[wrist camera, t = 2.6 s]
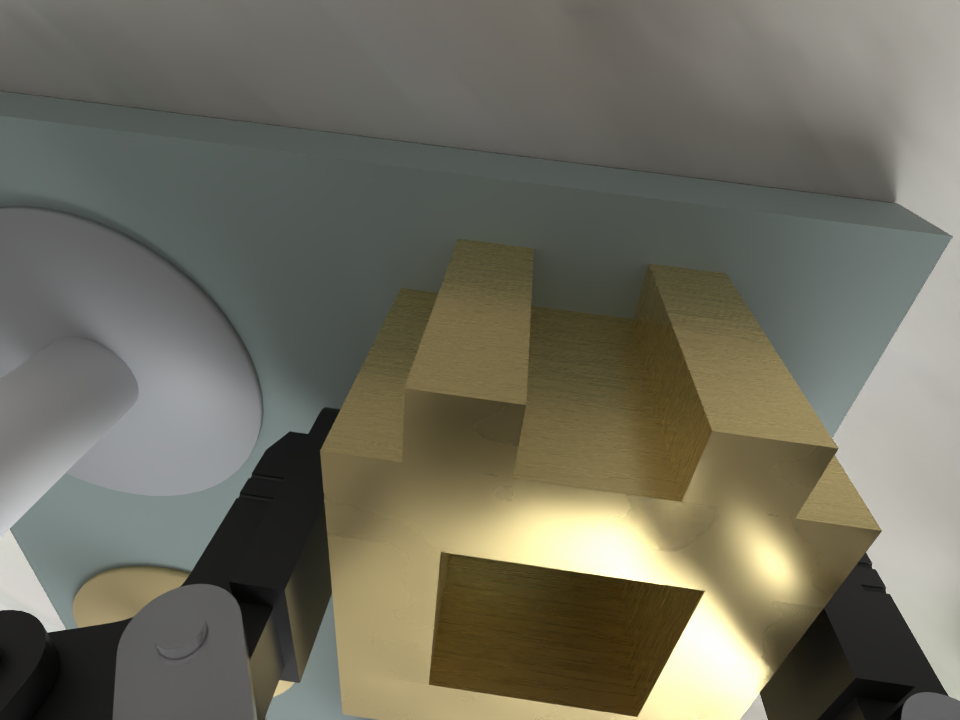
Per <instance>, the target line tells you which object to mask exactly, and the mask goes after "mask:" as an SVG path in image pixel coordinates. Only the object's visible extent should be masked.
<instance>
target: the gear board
mask: <svg viewBox="0 0 960 720" xmlns="http://www.w3.org/2000/svg"><path fill="white" fill-rule="evenodd" d="M951 238H952V236H951V235H949V234H948V233H946V232H944V231H943V230H941V229H939V228H938V227H936V226H934V225H933V224H931V223H929V222H928V221H926V220H924V219H923V218H921V217H919V216H918V215H916V214H914V213H913V212H911V211H909V210H908V209H906V208H904V207H903V206H901V205H899V204H897V203H889V202H881V201H873V200H865V199H857V198H849V197H841V196H833V195H825V194H817V193H809V192H801V191H793V190H785V189H777V188H769V187H761V186H753V185H745V184H737V183H729V182H721V181H713V180H705V179H697V178H689V177H681V176H673V175H665V174H657V173H649V172H641V171H633V170H625V169H617V168H610V167H602V166H594V165H586V164H578V163H570V162H562V161H554V160H546V159H538V158H530V157H522V156H514V155H506V154H498V153H490V152H482V151H474V150H466V149H458V148H450V147H442V146H434V145H426V144H418V143H410V142H402V141H394V140H386V139H378V138H370V137H362V136H354V135H346V134H338V133H330V132H323V131H315V130H307V129H299V128H291V127H283V126H275V125H267V124H259V123H251V122H243V121H235V120H227V119H219V118H211V117H203V116H195V115H187V114H179V113H171V112H163V111H155V110H147V109H139V108H131V107H123V106H115V105H107V104H99V103H91V102H83V101H75V100H67V99H59V98H51V97H43V96H35V95H28V94H20V93H12V92H4V91H0V538H1V537H2V536H3V535H4V534H5V533H6V532H7V531H8V530H9V529H10V530H11V532H12V534H13V536H14V538H15V539H16V541H17V543H18V545H19V546H20V548H21V550H22V552H23V553H24V555H25V557H26V559H27V561H28V562H29V564H30V566H31V568H32V569H33V571H34V573H35V575H36V577H37V578H38V580H39V582H40V584H41V585H42V587H43V589H44V591H45V592H46V594H47V596H48V598H49V600H50V601H51V603H52V605H53V607H54V608H55V610H56V612H57V614H58V615H59V617H60V619H61V621H62V623H63V624H64V626H65V628H66V630H69V629H75V628H81V627H88V626H94V625H100V624H106V623H113V622H117V621H122V620H126V619H129V618H132V617H134V616H135V615H136V614H137V613H138V612H139V611H140V610H141V609H142V608H143V607H144V606H146V605H147V604H148V603H149V602H151V601H152V600H154V599H155V598H157V597H158V596H160V595H162V594H164V593H166V592H168V591H170V590H173V589H176V588H178V587H180V586H181V585H182V584H183V583H184V582H185V580H186V579H187V578H188V576H189V575H190V573H191V572H192V570H193V568H194V567H195V565H196V563H197V562H198V560H199V559H200V557H201V555H202V554H203V552H204V550H205V549H206V547H207V546H208V544H209V542H210V541H211V539H212V537H213V536H214V534H215V532H216V531H217V529H218V528H219V526H220V524H221V523H222V521H223V519H224V518H225V516H226V514H227V513H228V511H229V510H230V508H231V506H232V505H233V503H234V501H235V500H236V498H239V496H240V492H241V490H242V488H243V487H244V485H245V483H246V482H247V480H248V478H251V476H252V472H253V470H254V469H255V467H256V465H257V464H258V462H259V460H260V459H261V457H262V456H263V454H264V452H265V451H266V449H268V448H269V447H270V446H272V445H273V444H274V443H275V442H277V441H278V440H279V439H281V438H282V437H283V436H285V435H286V434H287V433H288V432H290V431H291V432H298V433H305V434H309V432H310V430H311V428H312V426H313V424H314V422H315V421H316V419H317V417H318V415H319V413H320V412H321V410H322V409H323V408H324V407H329V408H336V409H341V408H342V406H343V403H344V401H345V399H346V397H347V395H348V393H349V391H350V389H351V387H352V385H353V383H354V381H355V379H356V377H357V375H358V373H359V371H360V369H361V367H362V365H363V363H364V361H365V359H366V357H367V355H368V353H369V351H370V349H371V347H372V345H373V343H374V341H375V339H376V337H377V335H378V333H379V331H380V329H381V327H382V325H383V323H384V321H385V319H386V317H387V315H388V313H389V311H390V309H391V307H392V305H393V303H394V301H395V299H396V297H397V295H398V293H399V291H400V289H401V288H403V289H411V290H418V291H426V292H433V293H439V290H440V288H441V285H442V282H443V279H444V277H445V274H446V271H447V268H448V266H449V263H450V260H451V257H452V255H453V252H454V249H455V246H456V243H457V241H458V239H465V240H473V241H480V242H488V243H496V244H503V245H511V246H519V247H526V248H534V259H533V279H532V299H531V306H538V307H546V308H553V309H561V310H568V311H576V312H583V313H591V314H598V315H606V316H613V317H621V318H628V319H633V317H634V313H635V310H636V306H637V303H638V299H639V296H640V292H641V289H642V285H643V282H644V279H645V275H646V272H647V268H648V265H649V264H657V265H665V266H672V267H680V268H688V269H695V270H703V271H711V272H718V273H726V274H727V276H728V277H729V279H730V280H731V282H732V283H733V285H734V287H735V288H736V290H737V291H738V293H739V294H740V296H741V297H742V299H743V301H744V302H745V304H746V305H747V307H748V308H749V310H750V311H751V313H752V315H753V316H754V318H755V319H756V321H757V322H758V324H759V325H760V327H761V329H762V330H763V332H764V333H765V335H766V336H767V338H768V340H769V341H770V343H771V344H772V346H773V347H774V349H775V350H776V352H777V354H778V355H779V357H780V358H781V360H782V361H783V363H784V364H785V366H786V368H787V369H788V371H789V372H790V374H791V375H792V377H793V378H794V380H795V382H796V383H797V385H798V386H799V388H800V389H801V391H802V393H803V394H804V396H805V397H806V399H807V400H808V402H809V403H810V405H811V407H812V408H813V410H814V411H815V413H816V414H817V416H818V417H819V419H820V421H821V422H822V424H823V425H824V427H825V428H826V430H827V431H828V433H829V435H830V436H831V438H833V436H834V434H835V433H836V431H837V429H838V428H839V426H840V424H841V423H842V421H843V419H844V418H845V416H846V414H847V412H848V411H849V409H850V407H851V406H852V404H853V402H854V401H855V399H856V397H857V396H858V394H859V392H860V391H861V389H862V387H863V386H864V384H865V382H866V381H867V379H868V377H869V376H870V374H871V372H872V371H873V369H874V367H875V366H876V364H877V362H878V361H879V359H880V357H881V355H882V354H883V352H884V350H885V349H886V347H887V345H888V344H889V342H890V340H891V339H892V337H893V335H894V334H895V332H896V330H897V329H898V327H899V325H900V324H901V322H902V320H903V319H904V317H905V315H906V314H907V312H908V310H909V309H910V307H911V305H912V304H913V302H914V300H915V298H916V297H917V295H918V293H919V292H920V290H921V288H922V287H923V285H924V283H925V282H926V280H927V278H928V277H929V275H930V273H931V272H932V270H933V268H934V267H935V265H936V263H937V262H938V260H939V258H940V257H941V255H942V253H943V252H944V250H945V248H946V247H947V245H948V243H949V241H950V240H951ZM266 717H267V720H376V719H371V718H364V717H358V716H352V715H345V714H342V702H341V690H340V679H339V667H338V655H337V643H336V632H335V620H334V608H333V596H332V595H331V597H330V600H329V603H328V606H327V609H326V611H325V614H324V617H323V620H322V623H321V625H320V628H319V631H318V634H317V637H316V640H315V642H314V645H313V648H312V651H311V654H310V656H309V659H308V662H307V665H306V668H305V670H304V673H303V676H302V679H301V682H300V683H295V682H289V681H282V680H279V682H278V685H277V688H276V690H275V693H274V695H273V698H272V700H271V703H270V706H269V708H268V711H267V713H266Z"/></svg>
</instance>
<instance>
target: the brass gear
mask: <svg viewBox="0 0 960 720" xmlns="http://www.w3.org/2000/svg"><path fill="white" fill-rule="evenodd" d="M533 259H534V248H526V247H519V246H511V245H503V244H496V243H488V242H480V241H473V240H465V239H458V241H457V243H456V246H455V249H454V252H453V255H452V257H451V260H450V263H449V266H448V268H447V271H446V274H445V277H444V279H443V282H442V285H441V288H440V290H439V293H433V292H426V291H418V290H411V289H403V288H401V289H400V291H399V293H398V295H397V297H396V299H395V301H394V303H393V305H392V307H391V309H390V311H389V313H388V315H387V317H386V319H385V321H384V323H383V325H382V327H381V329H380V331H379V333H378V335H377V337H376V339H375V341H374V343H373V345H372V347H371V349H370V351H369V353H368V355H367V357H366V359H365V361H364V363H363V365H362V367H361V369H360V371H359V373H358V375H357V377H356V379H355V381H354V383H353V385H352V387H351V389H350V391H349V393H348V395H347V397H346V399H345V401H344V403H343V406H342V408H341V410H340V412H339V414H338V416H337V418H336V420H335V422H334V424H333V426H332V428H331V430H330V432H329V434H328V436H327V438H326V440H325V442H324V444H323V446H322V448H321V450H320V456H321V467H322V479H323V491H324V503H325V514H326V526H327V538H328V550H329V561H330V573H331V585H332V596H333V608H334V620H335V632H336V643H337V655H338V667H339V679H340V690H341V702H342V714H345V715H352V716H358V717H364V718H371V719H377V720H739V719H740V718H741V717H742V715H743V714H744V713H745V711H746V710H747V709H748V707H749V706H750V705H751V703H752V702H753V701H754V699H755V698H756V697H757V695H758V694H759V693H760V691H761V690H762V689H763V688H764V686H765V685H766V684H767V682H768V681H769V680H770V678H771V677H772V676H773V674H774V673H775V672H776V670H777V669H778V668H779V666H780V665H781V664H782V662H783V661H784V660H785V658H786V657H787V656H788V654H789V653H790V652H791V650H792V649H793V648H794V646H795V645H796V644H797V643H798V641H799V640H800V639H801V637H802V636H803V635H804V633H805V632H806V631H807V629H808V628H809V627H810V625H811V624H812V623H813V621H814V620H815V619H816V617H817V616H818V615H819V613H820V612H821V611H822V609H823V608H824V607H825V605H826V604H827V603H828V601H829V600H830V599H831V598H832V596H833V595H834V594H835V592H836V591H837V590H838V588H839V587H840V586H841V584H842V583H843V582H844V580H845V579H846V578H847V576H848V575H849V574H850V572H851V571H852V570H853V568H854V567H855V566H856V564H857V563H858V562H859V560H860V559H861V558H862V556H863V555H864V554H865V553H866V551H867V550H868V549H869V547H870V546H871V545H872V543H873V542H874V541H875V539H876V538H877V537H878V535H879V534H880V533H881V531H882V530H881V529H880V527H879V526H878V524H877V522H876V521H875V519H874V518H873V516H872V514H871V513H870V511H869V510H868V508H867V506H866V505H865V503H864V502H863V500H862V498H861V497H860V495H859V493H858V492H857V490H856V489H855V487H854V485H853V484H852V482H851V481H850V479H849V477H848V476H847V474H846V473H845V471H844V469H843V468H842V466H841V465H840V463H839V461H838V460H837V458H836V457H835V453H836V452H837V450H838V447H837V445H836V444H835V442H834V441H833V439H832V438H831V436H830V435H829V433H828V431H827V430H826V428H825V427H824V425H823V424H822V422H821V421H820V419H819V417H818V416H817V414H816V413H815V411H814V410H813V408H812V407H811V405H810V403H809V402H808V400H807V399H806V397H805V396H804V394H803V393H802V391H801V389H800V388H799V386H798V385H797V383H796V382H795V380H794V378H793V377H792V375H791V374H790V372H789V371H788V369H787V368H786V366H785V364H784V363H783V361H782V360H781V358H780V357H779V355H778V354H777V352H776V350H775V349H774V347H773V346H772V344H771V343H770V341H769V340H768V338H767V336H766V335H765V333H764V332H763V330H762V329H761V327H760V325H759V324H758V322H757V321H756V319H755V318H754V316H753V315H752V313H751V311H750V310H749V308H748V307H747V305H746V304H745V302H744V301H743V299H742V297H741V296H740V294H739V293H738V291H737V290H736V288H735V287H734V285H733V283H732V282H731V280H730V279H729V277H728V276H727V274H726V273H718V272H711V271H703V270H695V269H688V268H680V267H672V266H665V265H657V264H649V265H648V268H647V272H646V275H645V279H644V282H643V285H642V289H641V292H640V296H639V299H638V303H637V306H636V310H635V313H634V317H633V319H628V318H621V317H613V316H606V315H598V314H591V313H583V312H576V311H568V310H561V309H553V308H546V307H538V306H531V299H532V279H533Z"/></svg>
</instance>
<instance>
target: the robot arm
mask: <svg viewBox="0 0 960 720" xmlns="http://www.w3.org/2000/svg"><path fill="white" fill-rule="evenodd" d="M340 410H341V409H336V408H329V407H324V408H323V409H322V410H321V412H320V413H319V415H318V417H317V419H316V421H315V422H314V424H313V426H312V428H311V430H310V432H309V434H305V433H298V432H291V431H290V432H288V433H287V434H286V435H285V436H283V437H282V438H281V439H279V440H278V441H277V442H275V443H274V444H273V445H272V446H270V447H269V448H268V449H266V451H265V452H264V454H263V456H262V457H261V459H260V460H259V462H258V464H257V465H256V467H255V469H254V470H253V472H252V476H251V478H248V480H247V482H246V483H245V485H244V487H243V488H242V490H241V492H240V496H239V498H236V500H235V501H234V503H233V505H232V506H231V508H230V510H229V511H228V513H227V514H226V516H225V518H224V519H223V521H222V523H221V524H220V526H219V528H218V529H217V531H216V532H215V534H214V536H213V537H212V539H211V541H210V542H209V544H208V546H207V547H206V549H205V550H204V552H203V554H202V555H201V557H200V559H199V560H198V562H197V563H196V565H195V567H194V568H193V570H192V572H191V573H190V575H189V576H188V578H187V579H186V580H185V582H184V583H183V584H182V585H181V586H180V587H178V588H176V589H173V590H170V591H168V592H166V593H164V594H162V595H160V596H158V597H157V598H155V599H154V600H152V601H151V602H149V603H148V604H147V605H146V606H144V607H143V608H142V609H141V610H140V611H139V612H138V613H137V614H136V615H135V616H134V617H132V618H129V619H126V620H122V621H117V622H113V623H106V624H100V625H94V626H88V627H81V628H75V629H69V630H63V631H57V632H50V633H47V631H46V630H45V628H44V626H43V625H42V623H41V622H40V621H39V620H38V619H37V618H36V617H34V616H33V615H31V614H29V613H26V612H23V611H16V610H3V611H0V720H267V717H266V713H267V711H268V708H269V706H270V703H271V700H272V698H273V695H274V693H275V690H276V688H277V685H278V682H279V680H282V681H289V682H295V683H300V682H301V679H302V676H303V673H304V670H305V668H306V665H307V662H308V659H309V656H310V654H311V651H312V648H313V645H314V642H315V640H316V637H317V634H318V631H319V628H320V625H321V623H322V620H323V617H324V614H325V611H326V609H327V606H328V603H329V600H330V597H331V595H332V585H331V573H330V561H329V550H328V538H327V526H326V514H325V503H324V491H323V479H322V467H321V456H320V450H321V448H322V446H323V444H324V442H325V440H326V438H327V436H328V434H329V432H330V430H331V428H332V426H333V424H334V422H335V420H336V418H337V416H338V414H339V412H340ZM885 590H886V587H885V585H884V583H883V582H882V580H881V578H880V576H879V575H878V573H877V571H876V570H875V569H872V562H871V561H870V559H869V557H868V555H867V554H866V553H865V554H864V555H863V556H862V558H861V559H860V560H859V562H858V563H857V564H856V566H855V567H854V568H853V570H852V571H851V572H850V574H849V575H848V576H847V578H846V579H845V580H844V582H843V583H842V584H841V586H840V587H839V588H838V590H837V591H836V592H835V594H834V595H833V596H832V598H831V599H830V600H829V601H828V603H827V604H826V605H825V607H824V608H823V609H822V611H821V612H820V613H819V615H818V616H817V617H816V619H815V620H814V621H813V623H812V624H811V625H810V627H809V628H808V629H807V631H806V632H805V633H804V635H803V636H802V637H801V639H800V640H799V641H798V643H797V644H796V645H795V646H794V648H793V649H792V650H791V652H790V653H789V654H788V656H787V657H786V658H785V660H784V661H783V662H782V664H781V665H780V666H779V668H778V669H777V670H776V672H775V673H774V674H773V676H772V677H771V678H770V680H769V681H768V682H767V684H766V685H765V686H764V688H763V689H762V690H761V691H760V695H761V698H762V702H763V705H764V708H765V711H766V715H767V718H768V720H960V701H958V700H956V699H954V698H951V697H949V696H948V694H947V693H946V691H945V690H944V688H943V686H942V685H941V683H940V681H939V679H938V678H937V676H936V674H935V672H934V671H933V669H932V667H931V665H930V664H929V662H928V660H927V658H926V657H925V655H924V653H923V651H922V650H921V648H920V646H919V644H918V643H917V641H916V639H915V637H914V636H913V634H912V632H911V630H910V629H909V627H908V625H907V623H906V622H905V620H904V618H903V616H902V615H901V613H900V611H899V610H898V608H897V606H896V604H895V603H894V601H893V599H892V597H891V596H890V594H886V591H885Z"/></svg>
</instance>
